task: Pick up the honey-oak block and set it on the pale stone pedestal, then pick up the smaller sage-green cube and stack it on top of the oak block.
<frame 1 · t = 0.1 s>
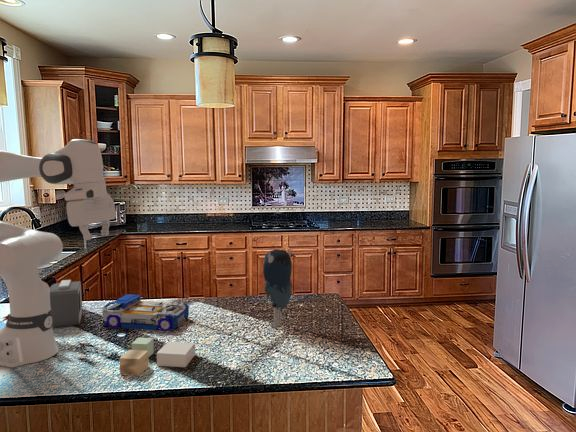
hand: (97, 237, 132), 39 cm above the countertop, tool pointing down, fingers open, 8 cm apart
pedestal: (176, 360, 135), on the countertop
oak block: (134, 370, 128), on the countertop
grey box with button: (65, 322, 169), on the countertop
toy car: (146, 323, 168), on the countertop
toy: (278, 327, 165), on the countertop
green cube: (142, 355, 138), on the countertop
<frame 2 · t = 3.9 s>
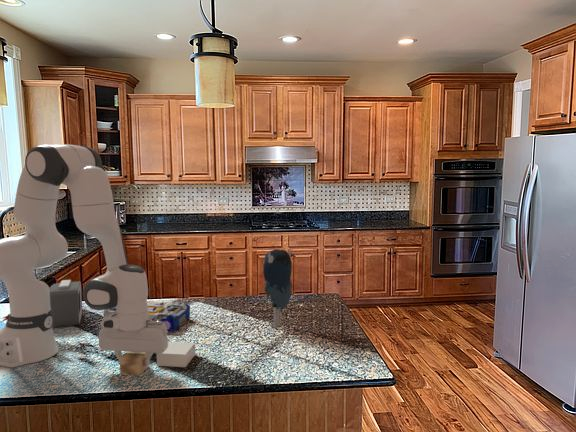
hand: (134, 364, 128), 2 cm above the countertop, tool pointing down, fingers closed on oak block, 6 cm apart
oak block: (134, 369, 128), on the countertop, touching gripper
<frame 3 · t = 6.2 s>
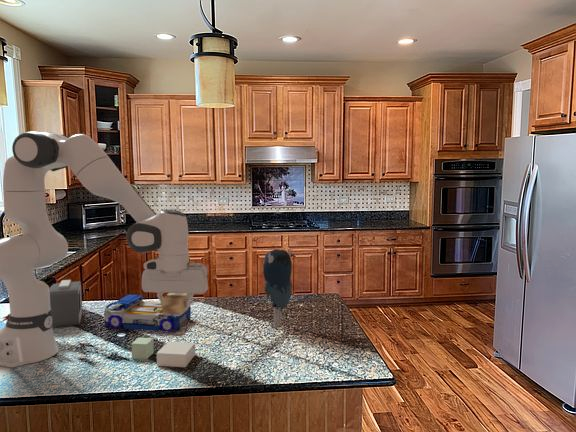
hand: (175, 306, 133), 17 cm above the countertop, tool pointing down, fingers closed on oak block, 6 cm apart
oak block: (175, 311, 133), point 16 cm above the countertop, touching gripper
when the fingers open (7 cm above the countertop, at t = 8.7 s): oak block stays where it is, resting on pedestal.
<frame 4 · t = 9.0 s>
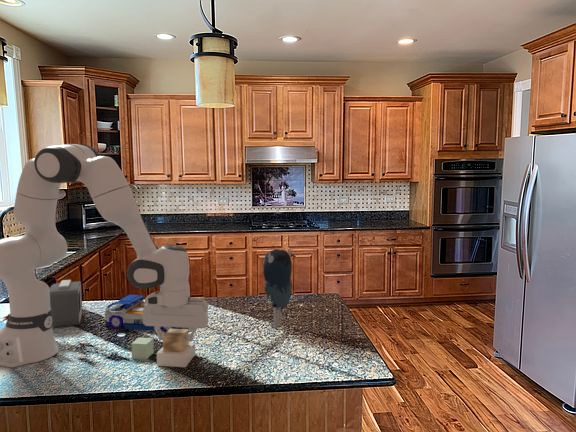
hand: (176, 339, 134), 7 cm above the countertop, tool pointing down, fingers open, 8 cm apart
oak block: (176, 347, 135), point 4 cm above the countertop, touching pedestal
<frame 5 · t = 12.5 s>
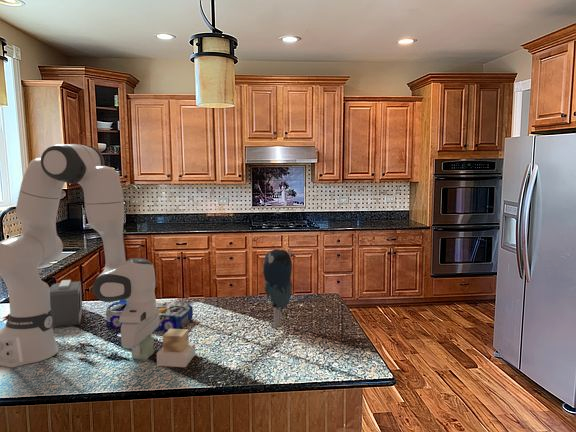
hand: (142, 350, 138), 2 cm above the countertop, tool pointing down, fingers closed on green cube, 5 cm apart
green cube: (142, 355, 138), on the countertop, touching gripper
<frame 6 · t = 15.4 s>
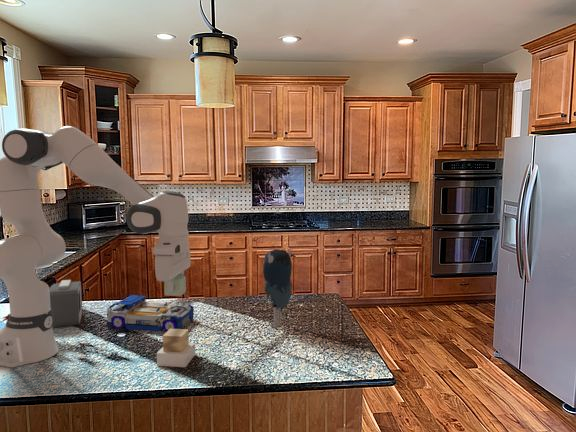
hand: (175, 288, 133), 23 cm above the countertop, tool pointing down, fingers closed on green cube, 5 cm apart
green cube: (175, 293, 133), point 21 cm above the countertop, touching gripper
when the fingers open (12 cm above the countertop, at t = 18.4 s): green cube stays where it is, resting on oak block.
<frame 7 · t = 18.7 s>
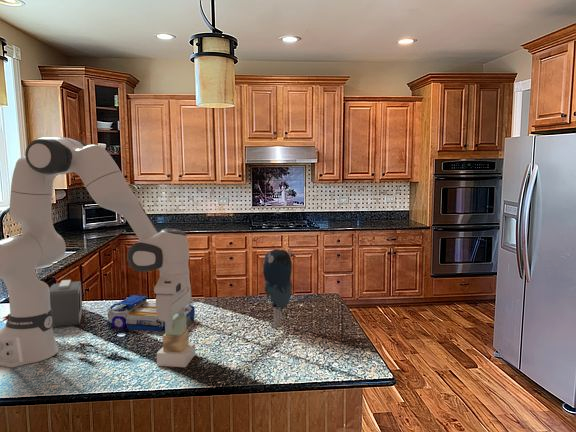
hand: (175, 324, 134), 12 cm above the countertop, tool pointing down, fingers open, 8 cm apart
oak block: (176, 347, 135), point 4 cm above the countertop, touching green cube, pedestal
green cube: (176, 332, 134), point 9 cm above the countertop, touching oak block
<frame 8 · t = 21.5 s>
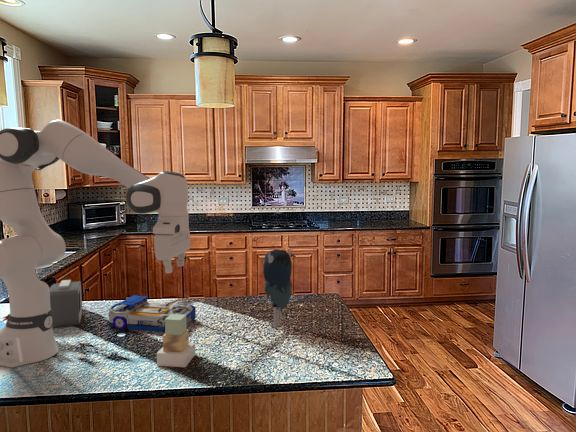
hand: (174, 269, 132), 29 cm above the countertop, tool pointing down, fingers open, 8 cm apart
at the end: oak block 0.0 cm off-centre on the pedestal, point 4.0 cm above the pedestal's base; green cube 0.0 cm off-centre on the pedestal, point 9.0 cm above the pedestal's base; green cube tilted 0° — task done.
